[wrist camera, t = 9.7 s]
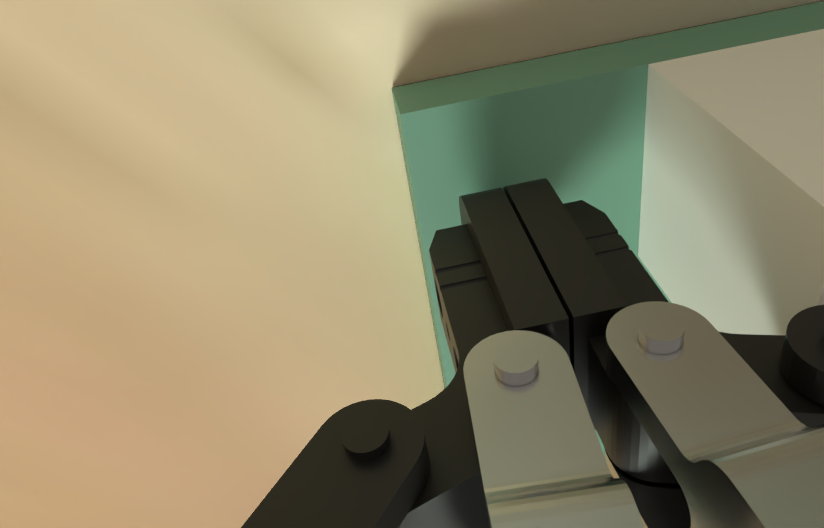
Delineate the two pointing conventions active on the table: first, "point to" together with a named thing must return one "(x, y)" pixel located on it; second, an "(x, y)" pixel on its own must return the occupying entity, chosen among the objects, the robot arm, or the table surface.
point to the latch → (737, 182)
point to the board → (552, 128)
